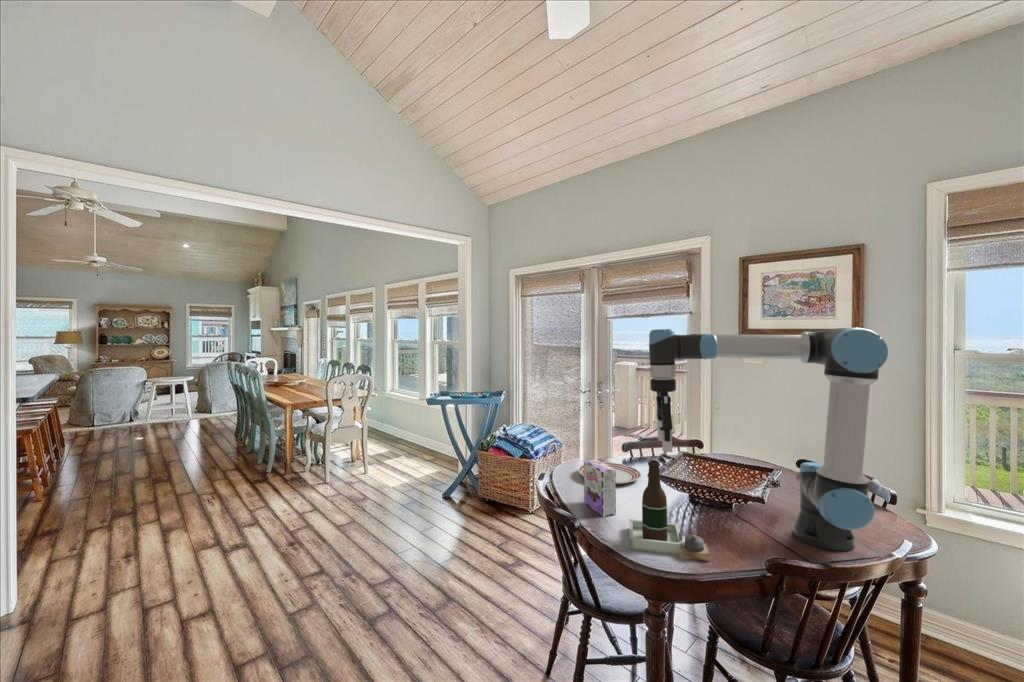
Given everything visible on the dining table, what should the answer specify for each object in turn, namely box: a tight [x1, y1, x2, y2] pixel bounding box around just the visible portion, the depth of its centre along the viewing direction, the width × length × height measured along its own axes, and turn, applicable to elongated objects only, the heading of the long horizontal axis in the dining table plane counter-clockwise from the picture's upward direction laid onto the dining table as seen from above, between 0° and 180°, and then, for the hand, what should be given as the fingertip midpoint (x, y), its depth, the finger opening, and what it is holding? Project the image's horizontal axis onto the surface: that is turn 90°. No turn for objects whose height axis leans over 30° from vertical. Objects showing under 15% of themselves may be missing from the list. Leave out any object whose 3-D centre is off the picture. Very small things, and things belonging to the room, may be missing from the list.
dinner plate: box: [577, 461, 642, 486], centre depth 191 cm, size 28×27×3 cm
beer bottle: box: [641, 459, 668, 541], centre depth 132 cm, size 8×8×24 cm
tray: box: [628, 518, 684, 555], centre depth 132 cm, size 15×14×3 cm
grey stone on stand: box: [677, 531, 710, 562], centre depth 124 cm, size 8×6×5 cm
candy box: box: [583, 458, 617, 518], centre depth 157 cm, size 14×6×16 cm, turn 18°
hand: (664, 446), depth 134 cm, fingers open, 13 cm apart
